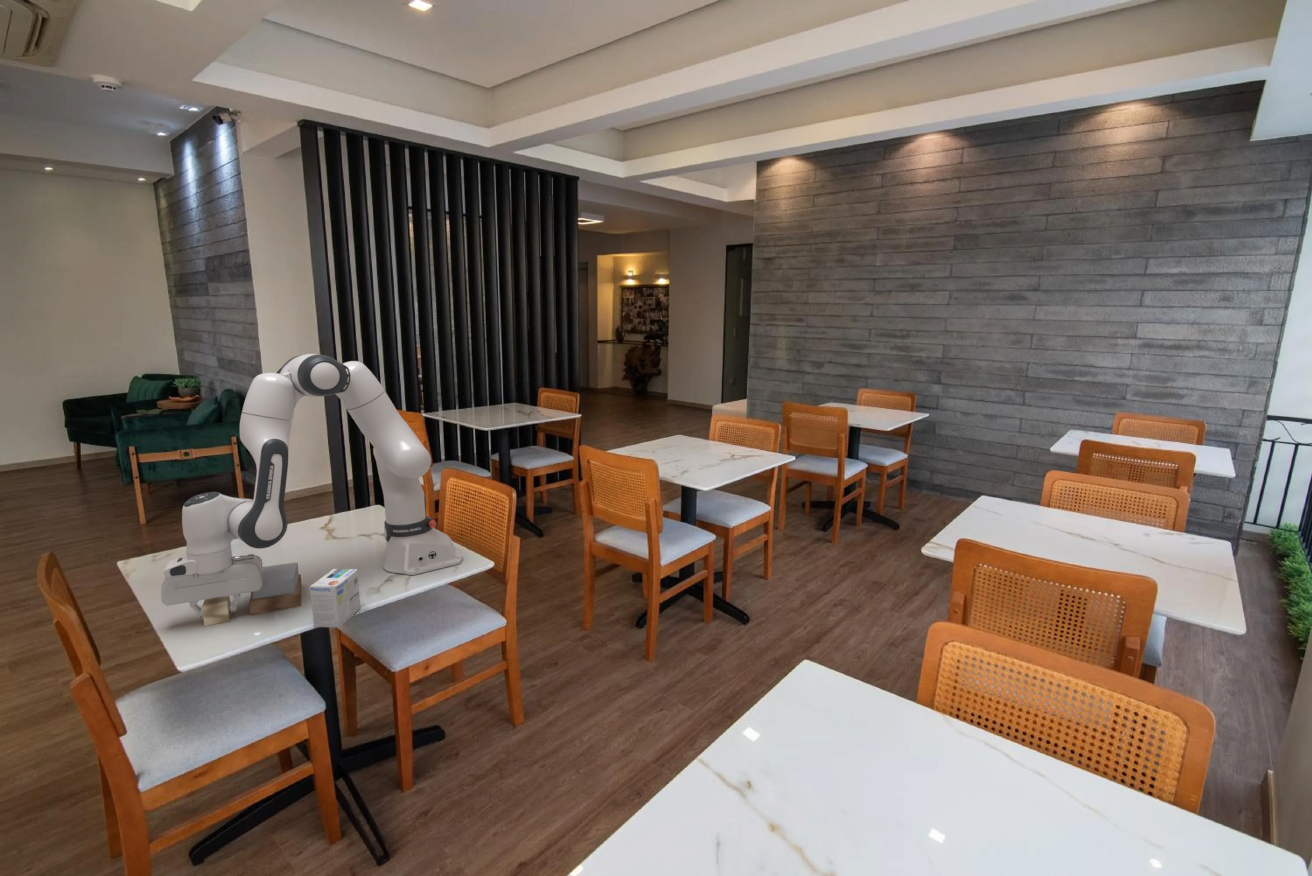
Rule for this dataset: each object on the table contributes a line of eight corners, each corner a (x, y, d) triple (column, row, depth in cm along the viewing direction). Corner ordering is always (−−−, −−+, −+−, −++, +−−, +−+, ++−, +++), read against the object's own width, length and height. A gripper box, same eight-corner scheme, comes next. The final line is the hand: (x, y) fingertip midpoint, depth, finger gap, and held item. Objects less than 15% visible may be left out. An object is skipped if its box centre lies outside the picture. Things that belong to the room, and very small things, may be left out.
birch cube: (231, 613, 157) (229, 594, 156) (229, 621, 153) (226, 602, 152) (207, 617, 155) (204, 598, 154) (204, 626, 151) (201, 606, 150)
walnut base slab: (301, 587, 174) (300, 574, 173) (301, 608, 162) (299, 593, 161) (255, 595, 169) (253, 581, 168) (250, 617, 156) (249, 602, 156)
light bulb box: (336, 607, 161) (332, 567, 159) (362, 608, 161) (358, 568, 159) (312, 627, 151) (308, 585, 149) (340, 628, 150) (336, 586, 148)
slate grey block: (299, 576, 172) (297, 562, 171) (294, 593, 161) (292, 578, 160) (260, 581, 168) (259, 567, 167) (253, 599, 157) (251, 584, 157)
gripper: (261, 548, 159) (267, 599, 161) (161, 563, 149) (169, 616, 152) (260, 557, 153) (266, 609, 156) (155, 572, 144) (163, 628, 146)
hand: (217, 613), depth 154 cm, fingers closed on birch cube, 5 cm apart
